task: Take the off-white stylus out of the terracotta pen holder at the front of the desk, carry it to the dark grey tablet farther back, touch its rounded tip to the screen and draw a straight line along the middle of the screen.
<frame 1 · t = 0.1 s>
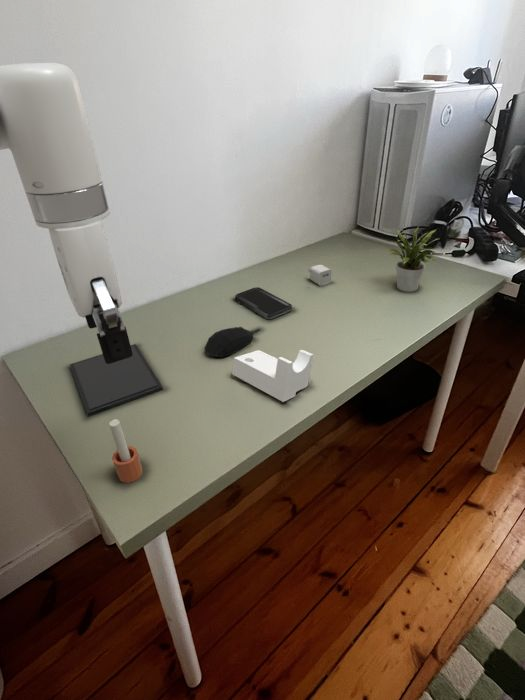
hand: (109, 341, 55), 23 cm above the table, tool pointing down, fingers open, 9 cm apart
tablet: (114, 377, 87), on the table
stylus: (129, 471, 66), resting on pen holder
bracket: (272, 380, 84), on the table
pen holder: (130, 473, 66), on the table
house plant: (402, 288, 114), on the table
gaming mouse: (235, 343, 95), on the table
usb wall charger: (317, 280, 121), on the table
phone: (262, 305, 110), on the table
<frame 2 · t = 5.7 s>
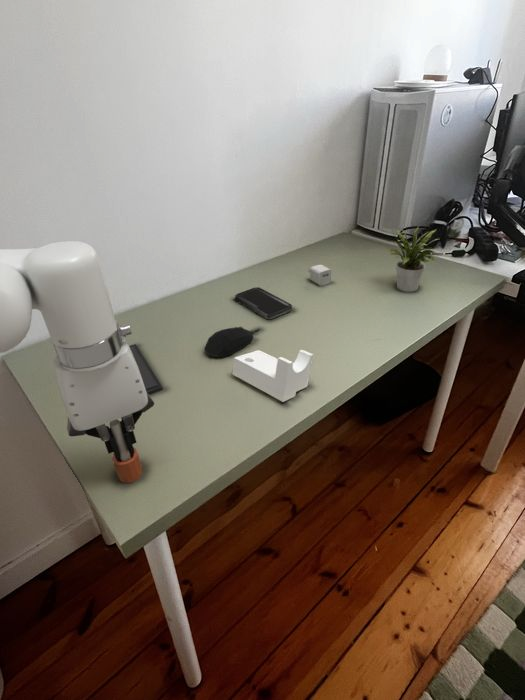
hand: (123, 449, 63), 5 cm above the table, tool pointing down, fingers closed on stylus, 1 cm apart
stylus: (129, 471, 66), resting on pen holder, touching gripper
everything else where it was.
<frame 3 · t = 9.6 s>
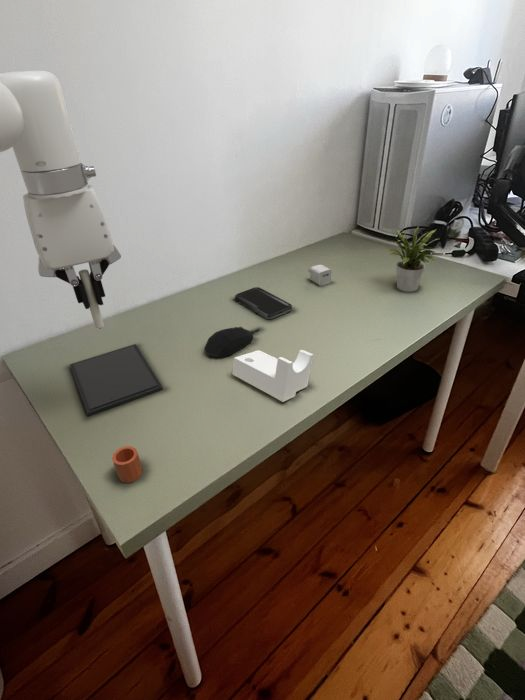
hand: (92, 303, 68), 21 cm above the table, tool pointing down, fingers closed on stylus, 1 cm apart
stylus: (100, 328, 70), point 16 cm above the table, touching gripper
everything else where it was.
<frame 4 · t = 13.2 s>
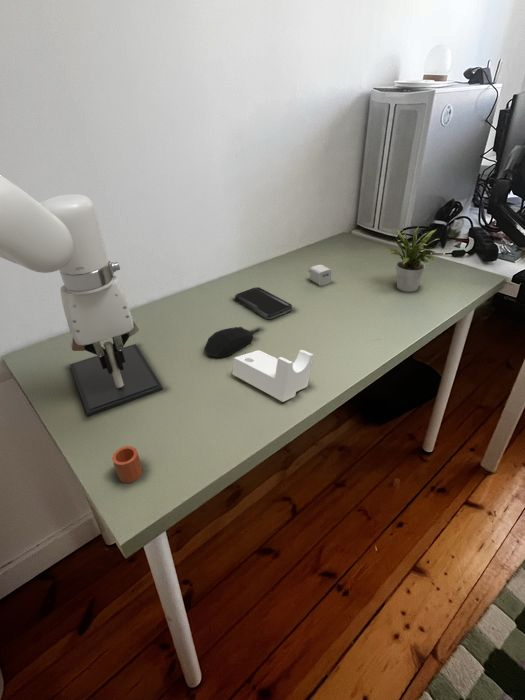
hand: (114, 367, 80), 6 cm above the table, tool pointing down, fingers closed on stylus, 1 cm apart
stylus: (120, 387, 83), point 1 cm above the table, touching gripper, tablet
everything else where it was.
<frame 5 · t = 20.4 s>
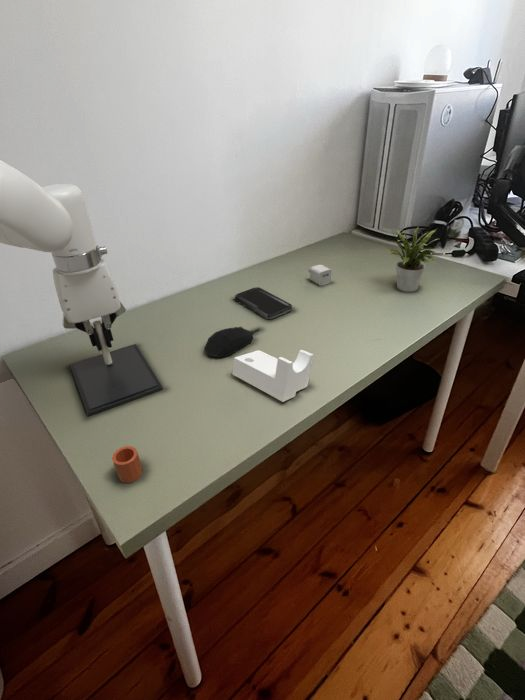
hand: (103, 345, 87), 6 cm above the table, tool pointing down, fingers closed on stylus, 1 cm apart
stylus: (109, 364, 89), point 1 cm above the table, touching gripper, tablet
everything else where it was.
at the end: stylus moved 30.3 cm from its start; stylus 0.3 cm from the target spot on the tablet, point 0.9 cm above the tablet's base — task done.
